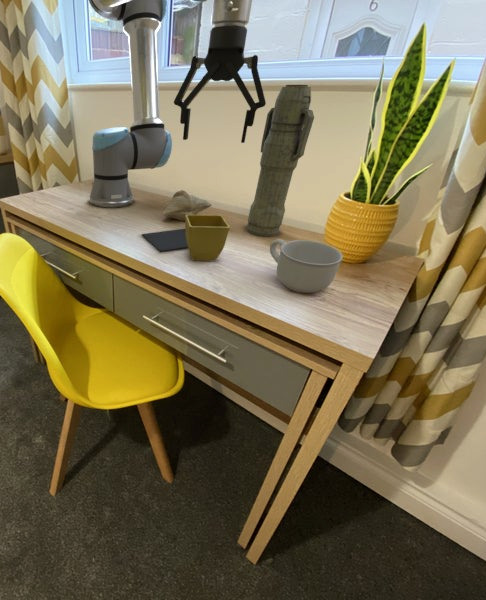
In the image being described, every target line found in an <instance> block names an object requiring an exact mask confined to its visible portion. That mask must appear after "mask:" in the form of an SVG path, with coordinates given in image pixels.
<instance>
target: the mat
mask: <svg viewBox="0 0 486 600" xmlns="http://www.w3.org/2000/svg"><path fill="white" fill-rule="evenodd" d="M141 236H142V237H143V238H144V239H145V240H146V241H147V242H148V243H150V244H151V245H152V246H153V248H155V249H156V250H157V251H158V252H159V253H165V252H172V251H179V250H185V249H189V248H188V245H187V242H186V235H185V228H179V229H171V230H165V231H164V230H163V231H156V232H148V233H142V234H141Z"/></svg>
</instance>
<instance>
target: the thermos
mask: <svg viewBox="0 0 486 600" xmlns="http://www.w3.org/2000/svg"><path fill="white" fill-rule="evenodd" d="M311 103H312V87H311V86H309V85H308V84H286V85H285V86H282V87H281V89H280V91H279V92H278V95H277V97H276V99H275V102H274V107H271V108H270V110H269V111H268V112H267V115H266V120H265V123H264V124H265V125H264V130H263V136H262V138H261V139H262V140H261V146H260V153H261V157H260V161H259V166H260V170H259V176H258V180H257V183H256V190H255V194H254V199H253V202H251V205H250V208H249V213H248V217H247V226H246V231H247V232H248V233H250V234H252V235H254V236H259V237H276V236H278V235H279V232H280V228H281V226H282V223H283V221H284V216H285V212H286V207H285V203H286V200H287V196H288V193H289V189H290V185H291V181H292V178H293V174H294V170H296V168H297V166H298V163H299V160H300V159H301V158H302V157H303V156H304V154H305V150H306V146H307V144H308V140H309V136H310V134H311V130H312V127H313V123H314V120H315V115H314V111H313V110H312V109H310V108H311V107H310V106H311Z"/></svg>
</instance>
